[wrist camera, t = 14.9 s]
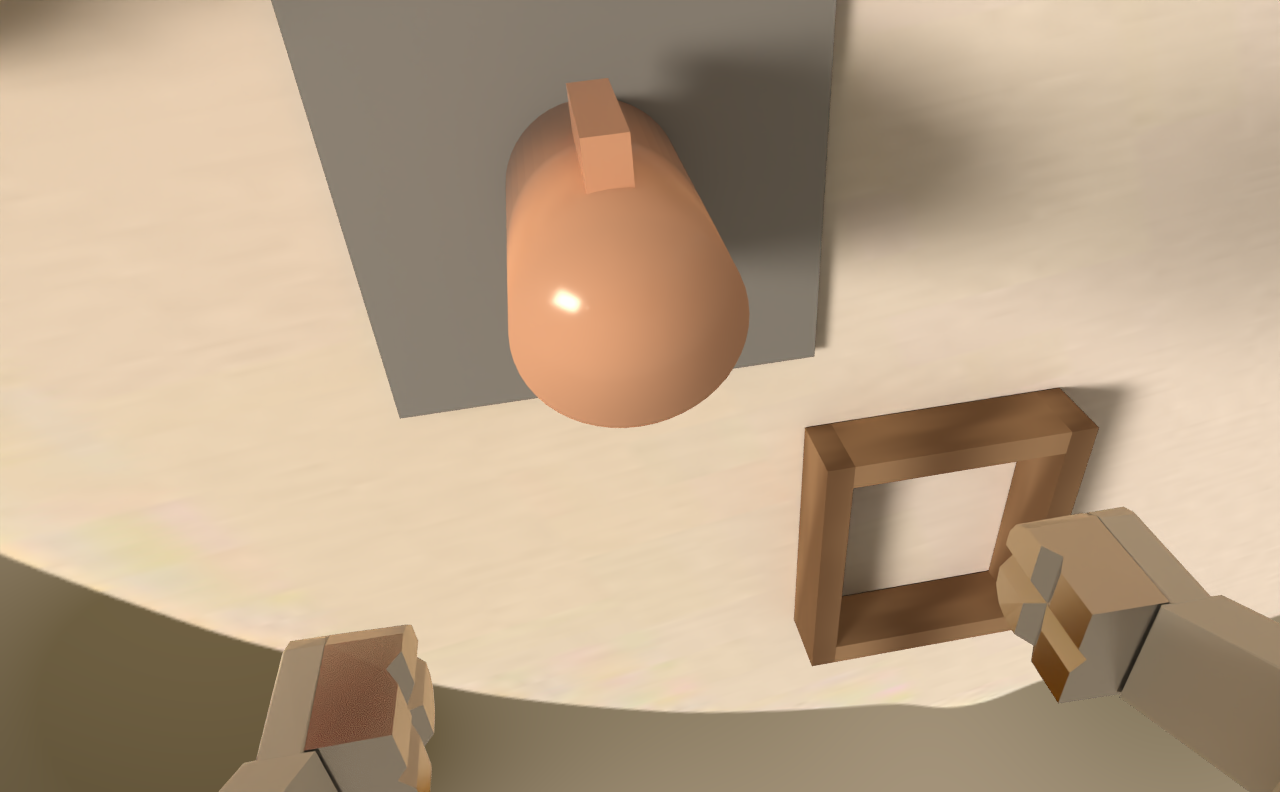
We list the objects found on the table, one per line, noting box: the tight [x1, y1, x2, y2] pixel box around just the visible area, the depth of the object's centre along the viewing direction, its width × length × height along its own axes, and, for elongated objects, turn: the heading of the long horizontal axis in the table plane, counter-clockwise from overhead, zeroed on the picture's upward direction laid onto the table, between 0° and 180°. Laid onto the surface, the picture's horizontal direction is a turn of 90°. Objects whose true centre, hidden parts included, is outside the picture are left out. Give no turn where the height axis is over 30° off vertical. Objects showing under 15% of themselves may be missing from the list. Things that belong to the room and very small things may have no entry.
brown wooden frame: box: [794, 388, 1099, 666], centre depth 33 cm, size 10×11×2 cm
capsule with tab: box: [505, 78, 750, 428], centre depth 20 cm, size 5×6×8 cm
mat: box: [271, 0, 836, 418], centre depth 24 cm, size 14×14×1 cm
